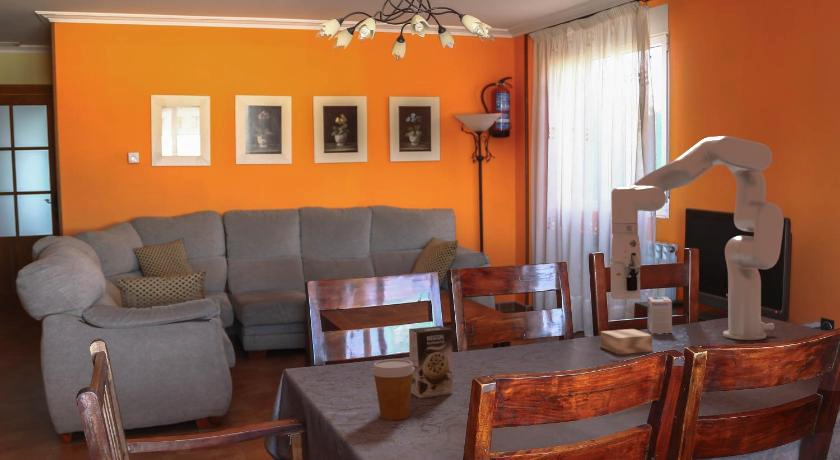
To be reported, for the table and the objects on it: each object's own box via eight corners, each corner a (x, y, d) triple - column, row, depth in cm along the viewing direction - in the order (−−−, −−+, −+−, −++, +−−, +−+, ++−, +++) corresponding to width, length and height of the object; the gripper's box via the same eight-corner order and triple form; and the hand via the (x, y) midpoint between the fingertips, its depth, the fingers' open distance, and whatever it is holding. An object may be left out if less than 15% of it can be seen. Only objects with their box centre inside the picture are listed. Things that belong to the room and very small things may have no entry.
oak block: (633, 344, 258) (633, 328, 258) (652, 352, 248) (652, 335, 247) (600, 347, 256) (600, 331, 255) (618, 355, 245) (618, 338, 245)
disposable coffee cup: (376, 410, 194) (375, 358, 193) (417, 410, 193) (416, 358, 192) (370, 422, 184) (368, 368, 184) (413, 422, 184) (412, 368, 183)
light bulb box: (647, 328, 282) (646, 296, 282) (667, 328, 281) (667, 296, 281) (651, 334, 272) (651, 301, 271) (673, 334, 271) (672, 301, 270)
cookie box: (419, 398, 203) (417, 332, 202) (409, 392, 209) (407, 328, 207) (454, 393, 206) (452, 328, 205) (442, 388, 212) (441, 324, 211)
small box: (637, 296, 253) (637, 261, 252) (640, 299, 247) (640, 263, 247) (610, 296, 254) (610, 261, 253) (613, 299, 248) (612, 263, 247)
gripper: (651, 230, 242) (651, 292, 243) (622, 227, 258) (622, 284, 260) (627, 231, 240) (628, 293, 241) (599, 228, 257) (600, 286, 258)
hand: (625, 288), depth 250 cm, fingers closed on small box, 7 cm apart
